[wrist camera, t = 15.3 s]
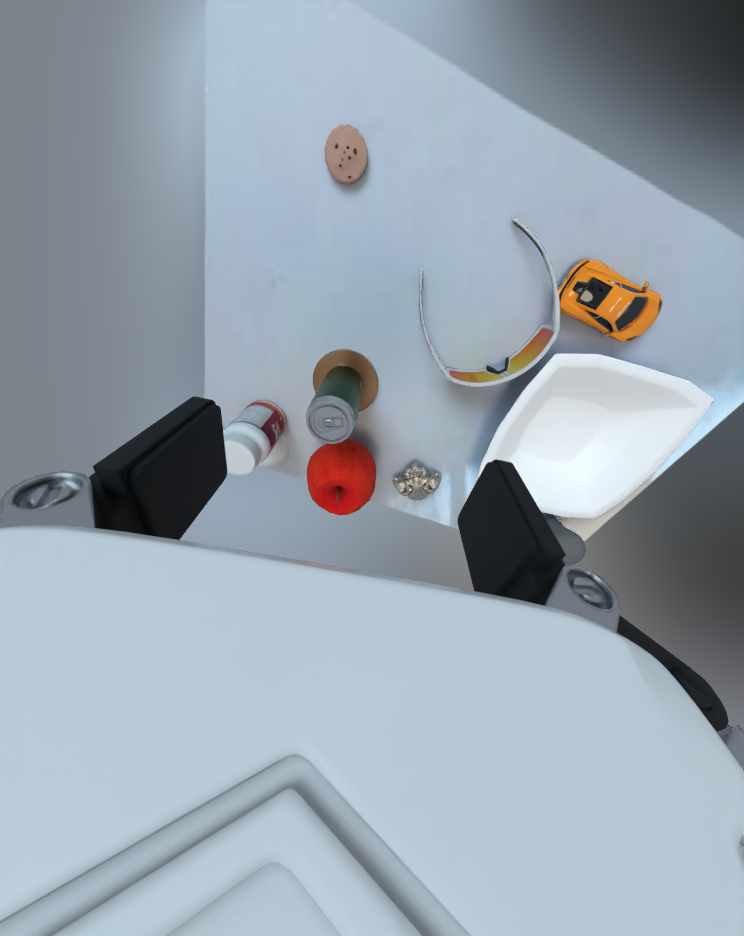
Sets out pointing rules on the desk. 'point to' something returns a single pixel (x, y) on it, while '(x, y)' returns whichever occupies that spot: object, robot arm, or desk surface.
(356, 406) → the beer can
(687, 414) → the bowl
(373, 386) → the coaster
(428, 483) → the ornament
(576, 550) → the light bulb
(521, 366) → the sunglasses
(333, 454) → the apple
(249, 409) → the pill bottle
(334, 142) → the cookie
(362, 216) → the desk surface
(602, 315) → the toy car
